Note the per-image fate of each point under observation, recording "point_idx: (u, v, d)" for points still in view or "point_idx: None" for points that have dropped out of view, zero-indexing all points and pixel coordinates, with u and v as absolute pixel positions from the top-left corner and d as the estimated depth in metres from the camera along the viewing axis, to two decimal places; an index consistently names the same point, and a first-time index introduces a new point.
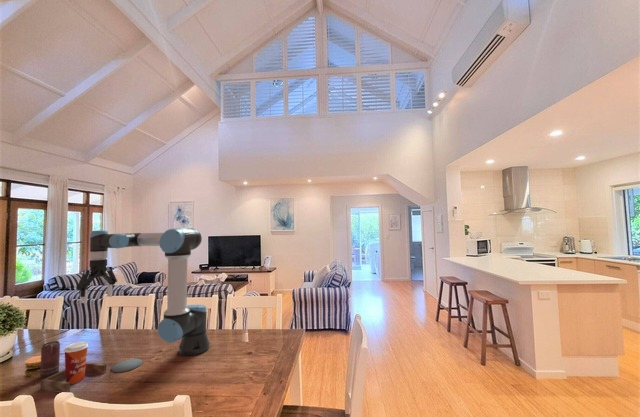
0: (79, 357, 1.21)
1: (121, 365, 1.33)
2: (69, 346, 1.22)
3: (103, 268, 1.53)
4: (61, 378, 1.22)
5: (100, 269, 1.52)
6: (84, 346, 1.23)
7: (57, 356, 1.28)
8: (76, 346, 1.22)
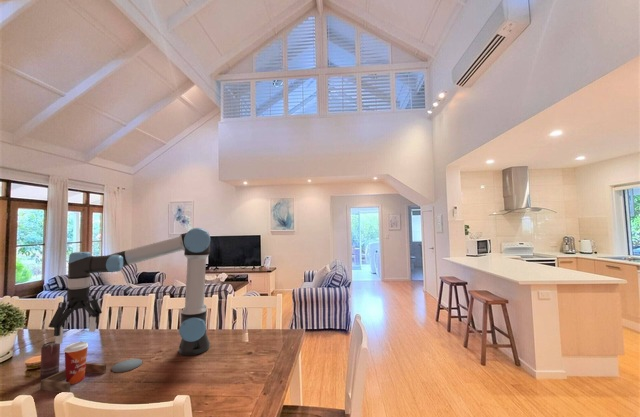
0: (79, 357, 1.21)
1: (121, 365, 1.33)
2: (69, 346, 1.22)
3: (84, 298, 1.26)
4: (61, 378, 1.22)
5: (80, 299, 1.24)
6: (84, 346, 1.23)
7: (57, 356, 1.28)
8: (76, 346, 1.22)
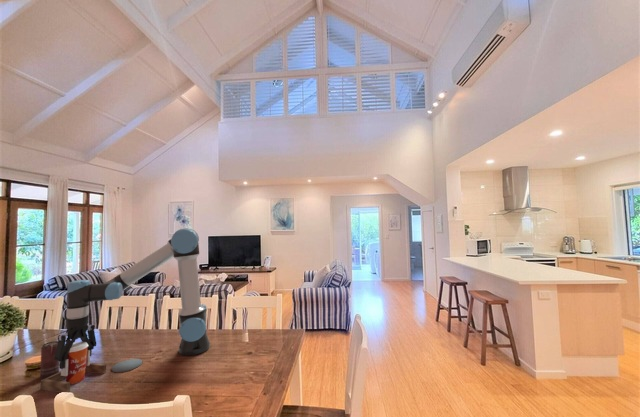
0: (79, 357, 1.21)
1: (121, 365, 1.33)
2: None
3: (83, 327, 1.25)
4: (61, 378, 1.22)
5: (79, 329, 1.24)
6: (84, 346, 1.23)
7: None
8: (76, 346, 1.21)
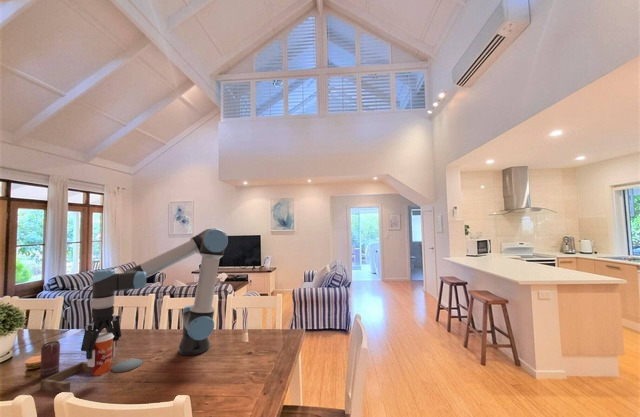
0: (105, 348, 1.18)
1: (121, 365, 1.33)
2: None
3: (109, 317, 1.23)
4: (61, 378, 1.22)
5: (105, 319, 1.21)
6: (110, 337, 1.20)
7: (57, 356, 1.28)
8: (102, 336, 1.19)
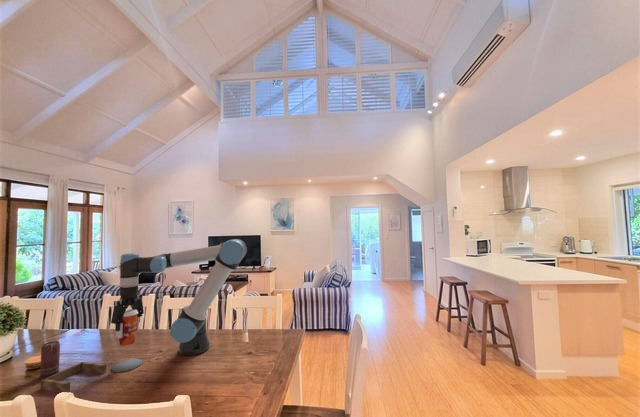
0: (131, 322, 1.34)
1: (121, 365, 1.33)
2: None
3: (134, 295, 1.38)
4: (61, 378, 1.22)
5: (131, 297, 1.37)
6: (135, 312, 1.36)
7: (57, 356, 1.28)
8: (128, 312, 1.34)
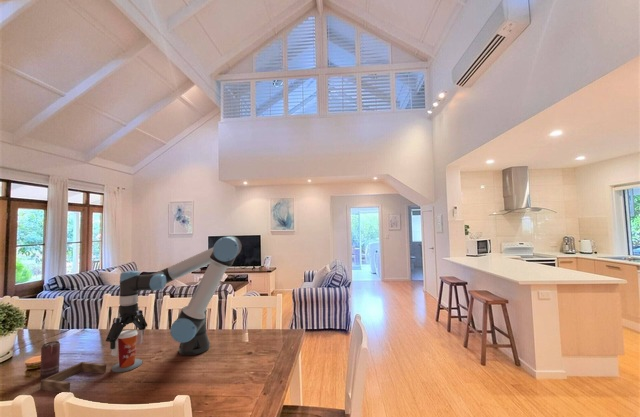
0: (131, 343, 1.33)
1: None
2: (121, 333, 1.34)
3: (133, 313, 1.38)
4: (61, 378, 1.22)
5: (130, 315, 1.36)
6: (135, 333, 1.35)
7: (57, 356, 1.28)
8: (128, 333, 1.34)
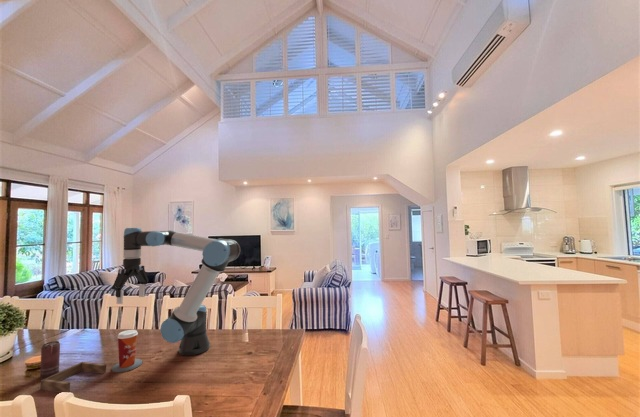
0: (131, 343, 1.33)
1: None
2: (122, 333, 1.34)
3: (136, 267, 1.47)
4: (61, 378, 1.22)
5: (134, 268, 1.45)
6: (135, 333, 1.35)
7: (57, 356, 1.28)
8: (128, 333, 1.34)
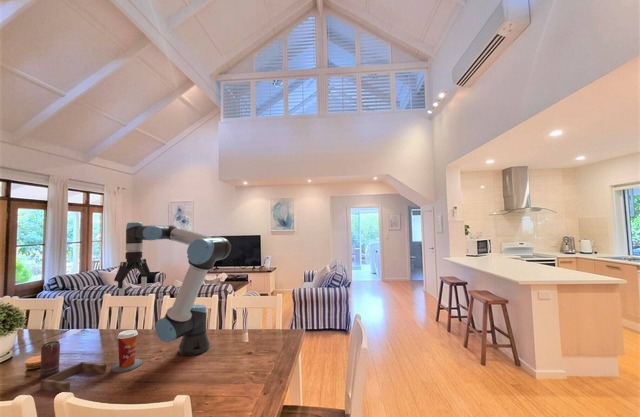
0: (131, 343, 1.33)
1: None
2: (122, 333, 1.34)
3: (138, 260, 1.53)
4: (61, 378, 1.22)
5: (136, 261, 1.51)
6: (135, 333, 1.35)
7: (57, 356, 1.28)
8: (128, 333, 1.34)
